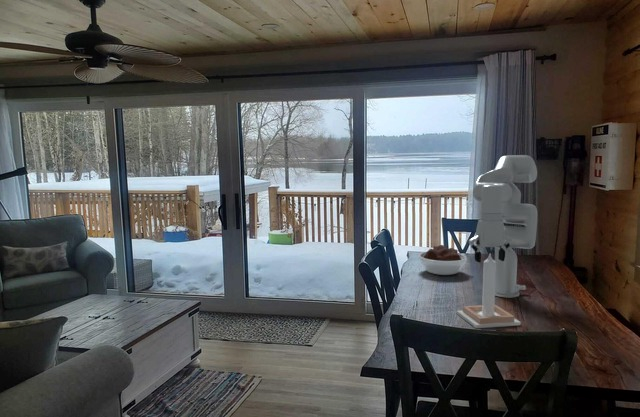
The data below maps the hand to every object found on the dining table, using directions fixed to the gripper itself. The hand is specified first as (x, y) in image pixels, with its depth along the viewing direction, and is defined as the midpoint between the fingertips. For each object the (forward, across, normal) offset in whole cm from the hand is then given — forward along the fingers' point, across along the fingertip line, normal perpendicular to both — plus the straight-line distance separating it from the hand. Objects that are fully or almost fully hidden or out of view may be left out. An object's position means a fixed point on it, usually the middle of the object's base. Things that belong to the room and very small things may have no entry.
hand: (489, 260), depth 174 cm
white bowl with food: (+24, -11, -68) cm, 73 cm away
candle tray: (+23, 0, 0) cm, 23 cm away
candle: (+22, 0, 0) cm, 22 cm away
